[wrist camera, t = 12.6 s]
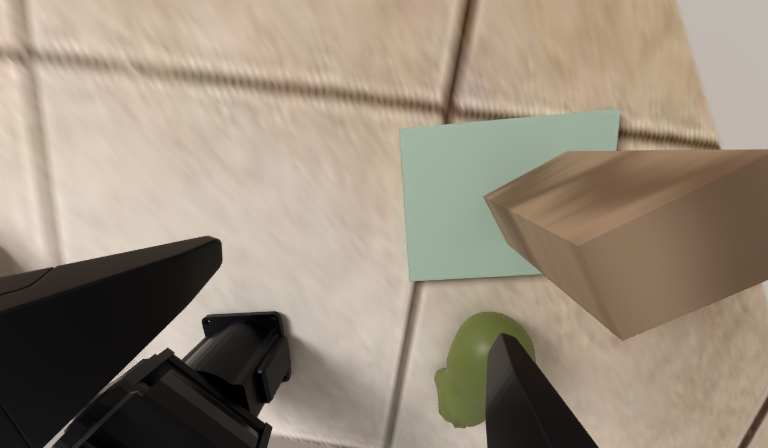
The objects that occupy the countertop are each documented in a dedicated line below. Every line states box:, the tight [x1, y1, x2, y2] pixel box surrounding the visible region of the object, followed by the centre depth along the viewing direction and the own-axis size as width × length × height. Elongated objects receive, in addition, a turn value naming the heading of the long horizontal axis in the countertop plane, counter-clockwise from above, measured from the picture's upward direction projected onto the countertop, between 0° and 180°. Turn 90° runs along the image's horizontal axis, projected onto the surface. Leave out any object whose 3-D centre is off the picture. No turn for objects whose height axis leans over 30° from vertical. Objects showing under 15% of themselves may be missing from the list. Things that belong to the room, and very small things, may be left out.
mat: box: [399, 109, 621, 281], centre depth 21 cm, size 14×11×1 cm
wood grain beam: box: [483, 150, 768, 341], centre depth 15 cm, size 6×4×11 cm, turn 120°
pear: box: [435, 312, 535, 428], centre depth 22 cm, size 6×5×10 cm
